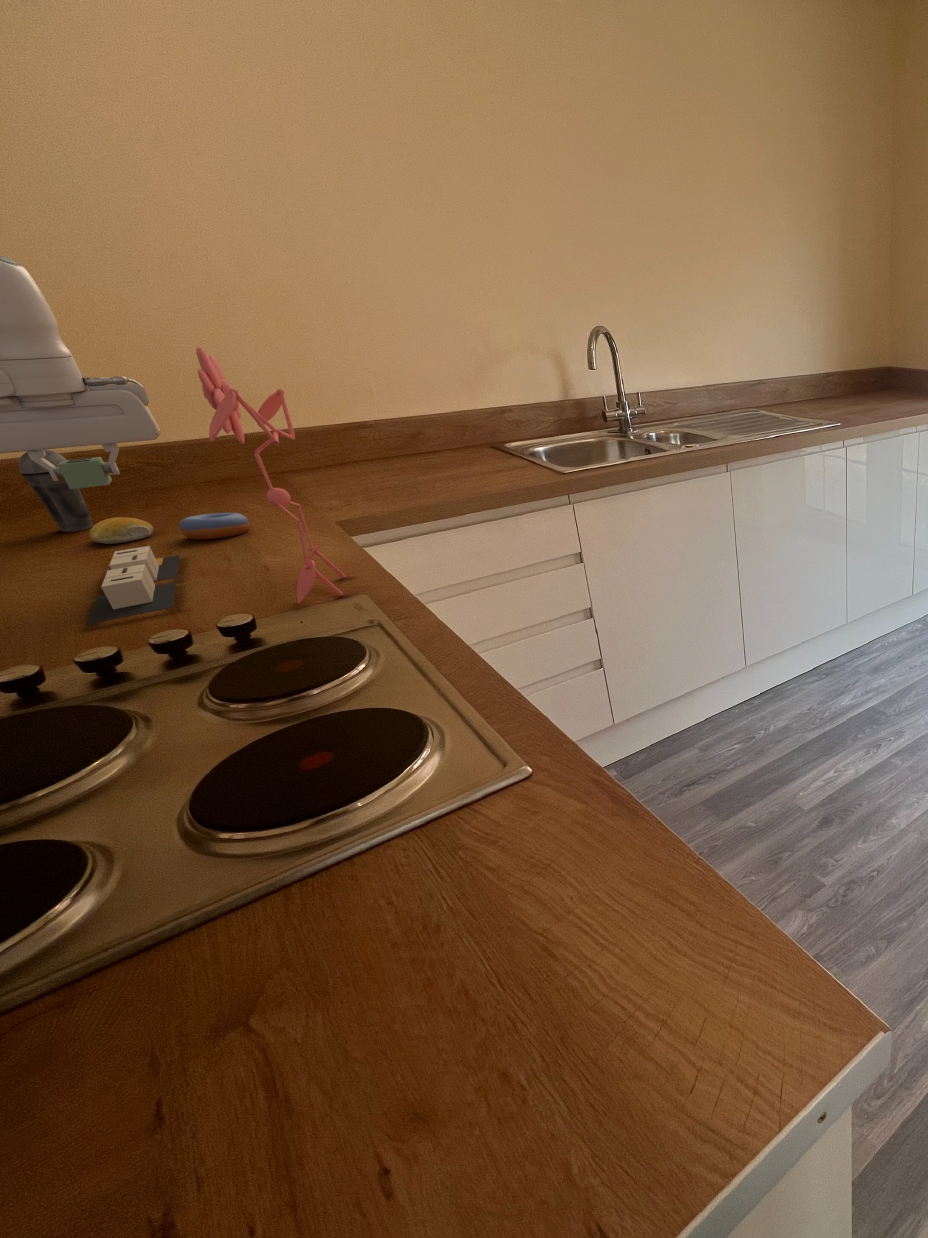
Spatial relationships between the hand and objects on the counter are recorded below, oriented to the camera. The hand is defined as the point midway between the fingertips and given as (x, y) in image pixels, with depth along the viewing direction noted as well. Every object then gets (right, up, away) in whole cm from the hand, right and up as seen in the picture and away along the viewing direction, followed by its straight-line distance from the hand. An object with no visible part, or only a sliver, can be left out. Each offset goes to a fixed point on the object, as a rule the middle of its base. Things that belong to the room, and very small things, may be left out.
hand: (87, 477), depth 105 cm
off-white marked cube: (-2, -13, +9) cm, 16 cm away
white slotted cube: (+6, -17, +1) cm, 18 cm away
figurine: (+30, -18, +1) cm, 35 cm away
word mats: (+3, -16, +5) cm, 17 cm away
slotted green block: (0, -1, +1) cm, 1 cm away
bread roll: (-24, -5, +29) cm, 38 cm away
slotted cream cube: (+1, -15, +6) cm, 16 cm away
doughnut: (-6, -5, +28) cm, 29 cm away
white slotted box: (+9, -19, -2) cm, 21 cm away
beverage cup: (-41, -2, +35) cm, 54 cm away
